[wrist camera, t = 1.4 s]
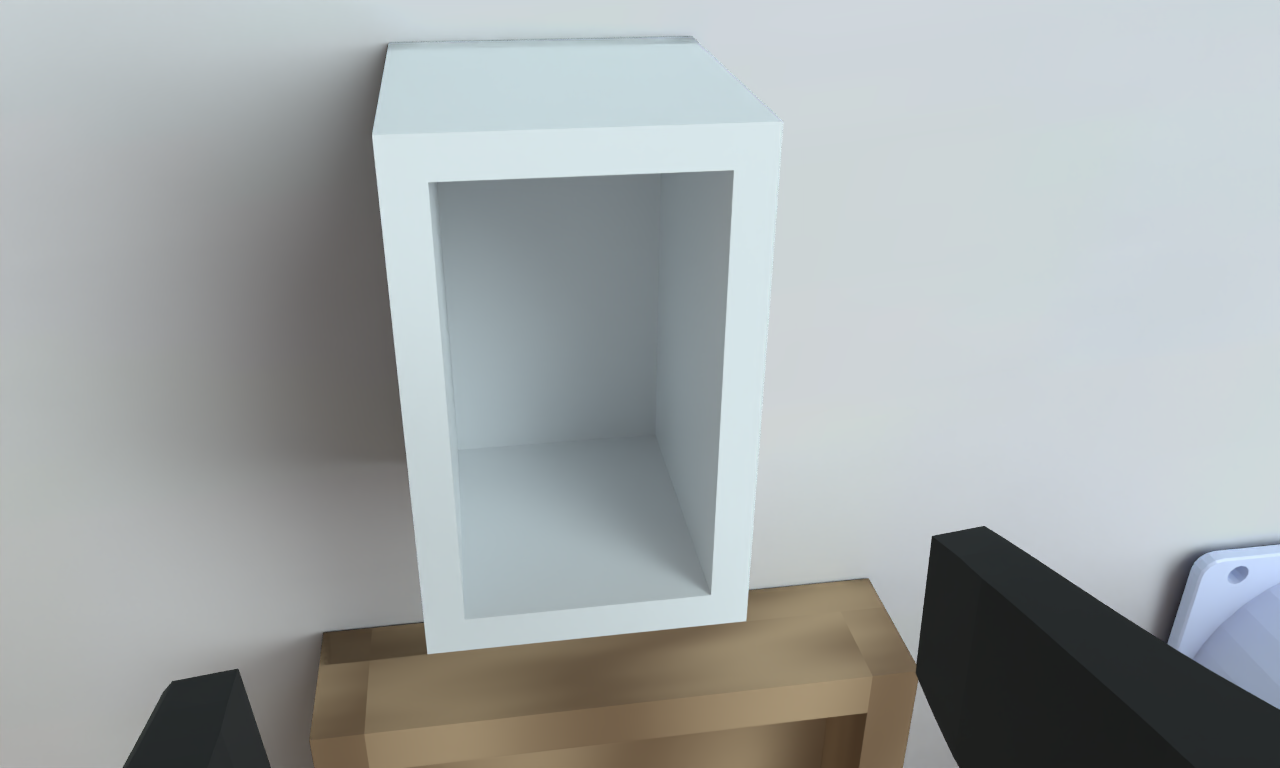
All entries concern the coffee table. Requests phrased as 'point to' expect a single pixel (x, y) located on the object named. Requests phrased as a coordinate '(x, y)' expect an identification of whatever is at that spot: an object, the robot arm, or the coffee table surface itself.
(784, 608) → the walnut crate
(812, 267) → the coffee table surface
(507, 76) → the white crate
